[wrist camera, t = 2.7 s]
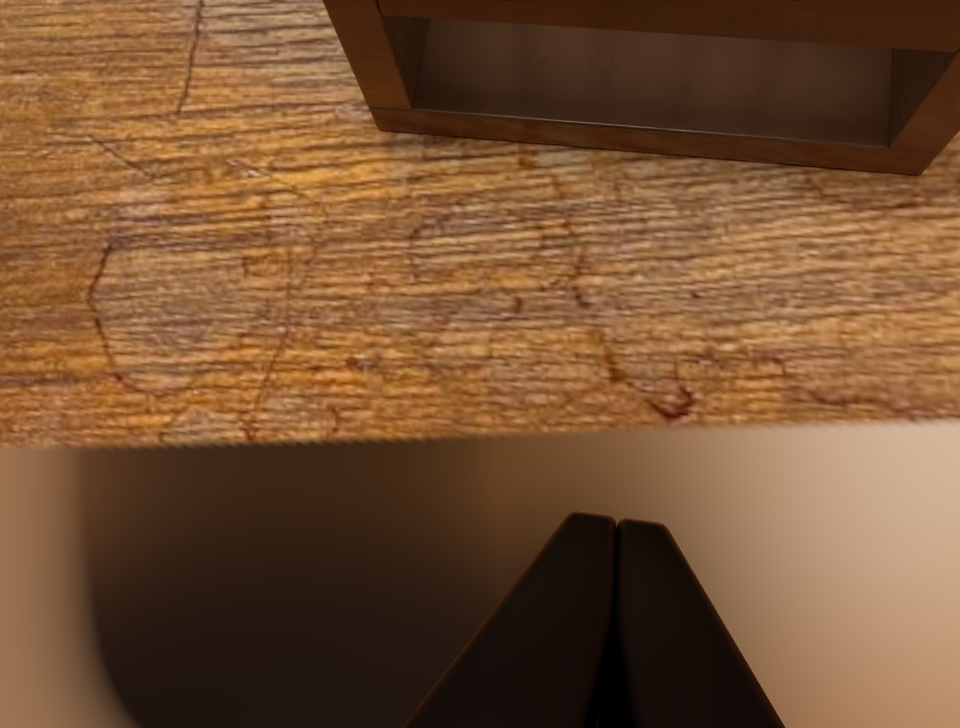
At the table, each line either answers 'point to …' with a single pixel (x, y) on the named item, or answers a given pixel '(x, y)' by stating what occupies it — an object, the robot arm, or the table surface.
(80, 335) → the table surface
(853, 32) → the walnut rack
